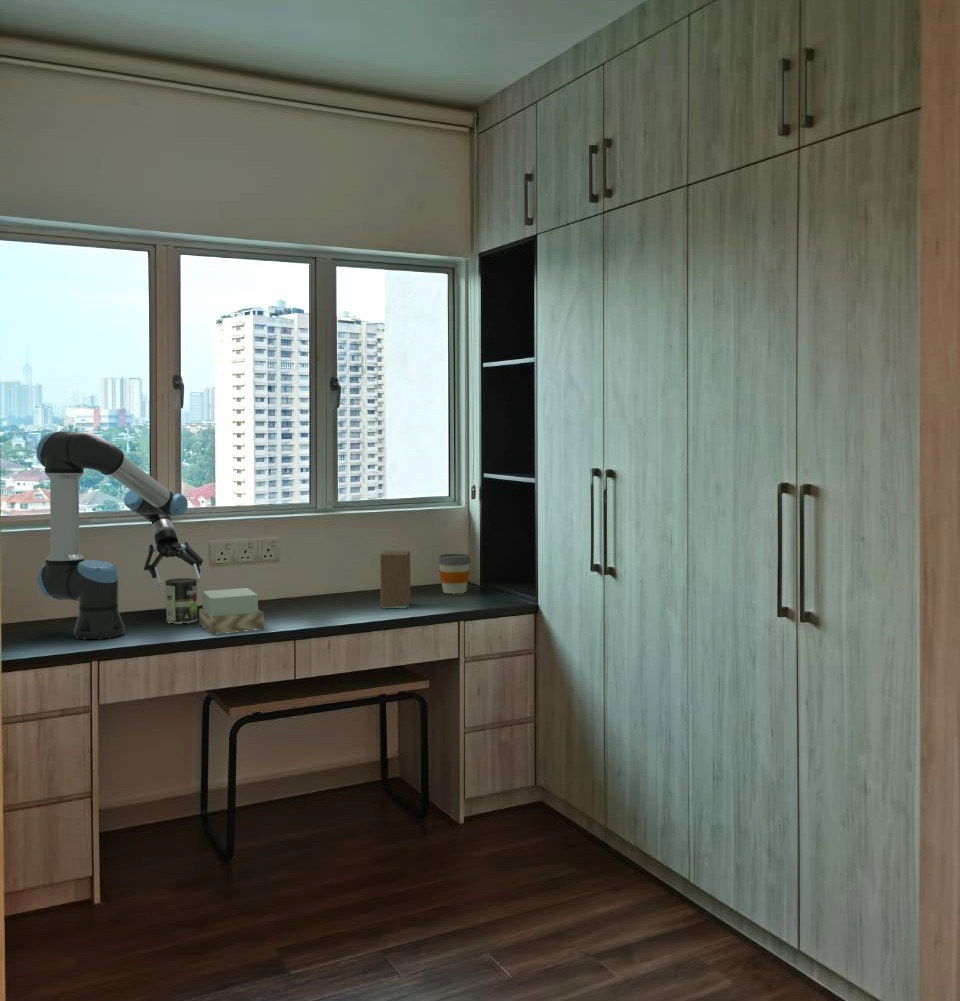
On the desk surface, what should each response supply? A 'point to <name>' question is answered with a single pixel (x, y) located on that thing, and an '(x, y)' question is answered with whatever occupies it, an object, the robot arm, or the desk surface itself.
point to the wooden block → (395, 578)
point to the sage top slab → (230, 602)
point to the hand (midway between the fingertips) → (179, 582)
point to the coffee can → (181, 600)
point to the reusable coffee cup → (454, 572)
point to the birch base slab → (231, 622)
